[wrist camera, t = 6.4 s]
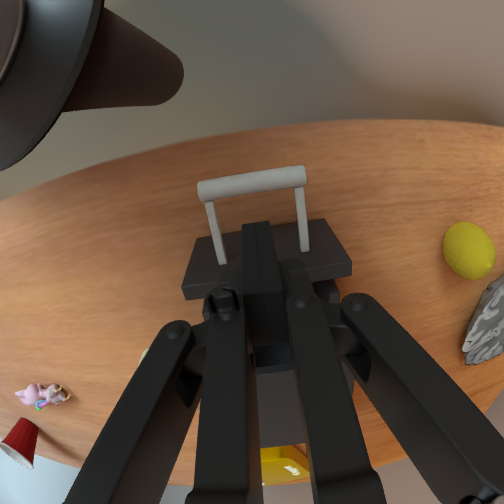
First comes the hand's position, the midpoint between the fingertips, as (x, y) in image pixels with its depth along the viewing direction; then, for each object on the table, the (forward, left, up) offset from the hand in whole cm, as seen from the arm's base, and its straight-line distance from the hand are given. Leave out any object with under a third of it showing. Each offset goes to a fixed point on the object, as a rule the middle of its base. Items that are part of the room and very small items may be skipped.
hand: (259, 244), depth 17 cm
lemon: (+7, +21, -10) cm, 25 cm away
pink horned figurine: (+27, -44, -10) cm, 53 cm away
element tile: (+53, -6, -10) cm, 55 cm away
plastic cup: (+45, -66, -10) cm, 81 cm away
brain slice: (+23, +35, -10) cm, 43 cm away
